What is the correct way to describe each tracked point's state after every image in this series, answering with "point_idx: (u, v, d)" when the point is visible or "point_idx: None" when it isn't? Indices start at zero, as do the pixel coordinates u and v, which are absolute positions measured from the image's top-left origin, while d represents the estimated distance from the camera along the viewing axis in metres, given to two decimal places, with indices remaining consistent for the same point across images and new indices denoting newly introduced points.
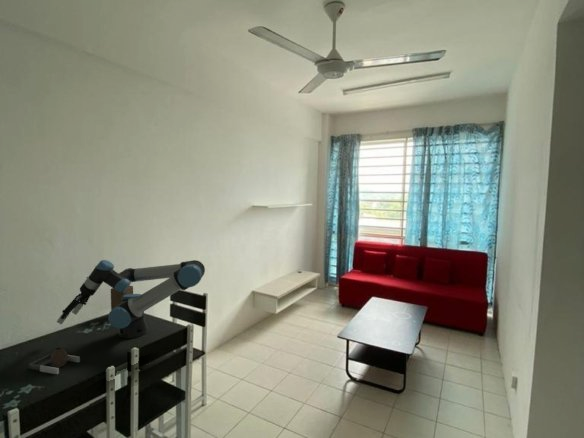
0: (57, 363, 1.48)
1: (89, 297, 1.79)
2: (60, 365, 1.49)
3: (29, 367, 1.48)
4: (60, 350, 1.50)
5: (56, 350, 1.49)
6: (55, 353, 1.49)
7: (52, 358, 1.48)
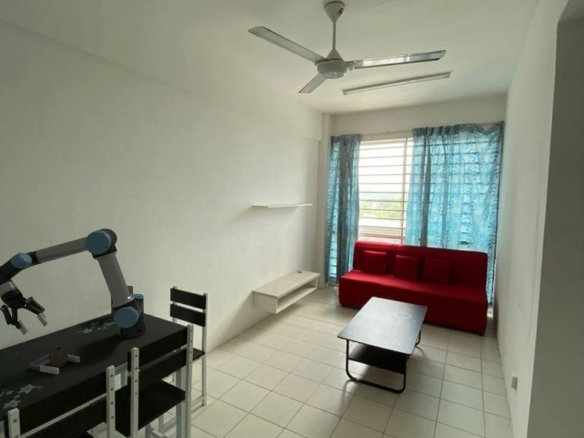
0: (57, 363, 1.48)
1: (39, 304, 1.61)
2: (60, 365, 1.49)
3: (29, 367, 1.48)
4: (60, 350, 1.50)
5: (56, 350, 1.49)
6: (55, 353, 1.49)
7: (52, 358, 1.48)
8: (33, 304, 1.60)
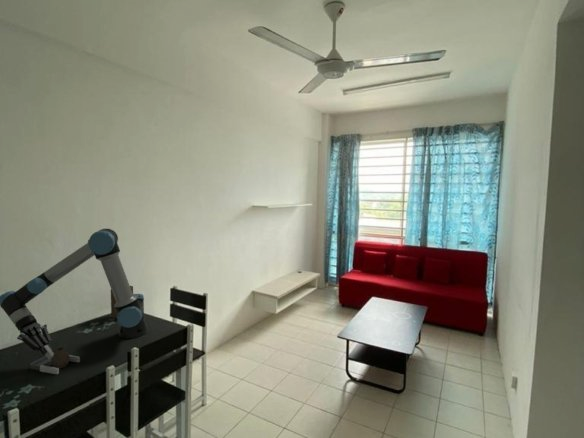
0: (59, 364, 1.47)
1: None
2: (62, 366, 1.48)
3: (29, 367, 1.48)
4: (62, 350, 1.49)
5: (58, 350, 1.49)
6: (57, 353, 1.48)
7: (54, 358, 1.47)
8: (44, 333, 1.56)
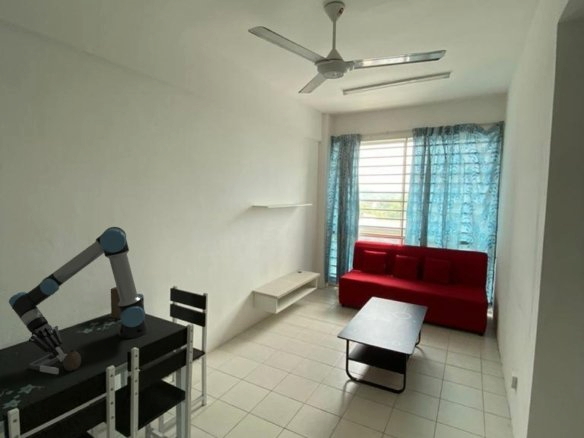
0: (71, 366, 1.46)
1: (60, 336, 1.54)
2: (73, 368, 1.47)
3: (29, 367, 1.48)
4: (73, 352, 1.48)
5: (69, 352, 1.47)
6: (68, 355, 1.46)
7: (65, 361, 1.45)
8: (55, 334, 1.54)
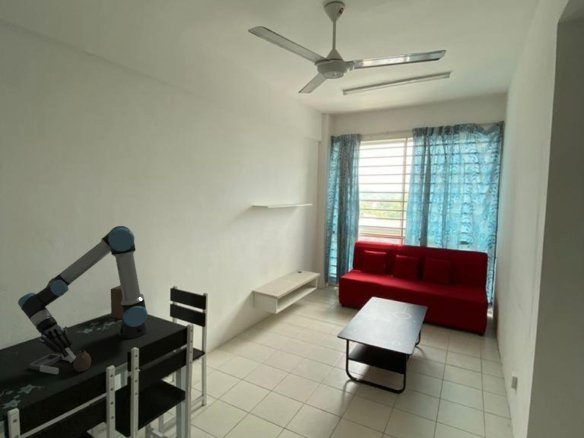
0: (81, 366, 1.45)
1: (69, 336, 1.54)
2: (84, 368, 1.46)
3: (29, 367, 1.48)
4: (84, 353, 1.47)
5: (80, 353, 1.47)
6: (79, 356, 1.46)
7: (76, 361, 1.45)
8: (64, 335, 1.54)
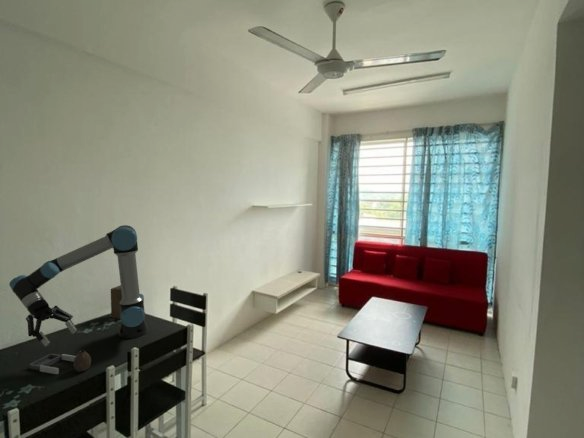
0: (81, 367, 1.45)
1: (66, 312, 1.59)
2: (84, 368, 1.46)
3: (29, 367, 1.48)
4: (84, 353, 1.47)
5: (80, 353, 1.47)
6: (79, 356, 1.46)
7: (76, 361, 1.45)
8: (60, 313, 1.57)
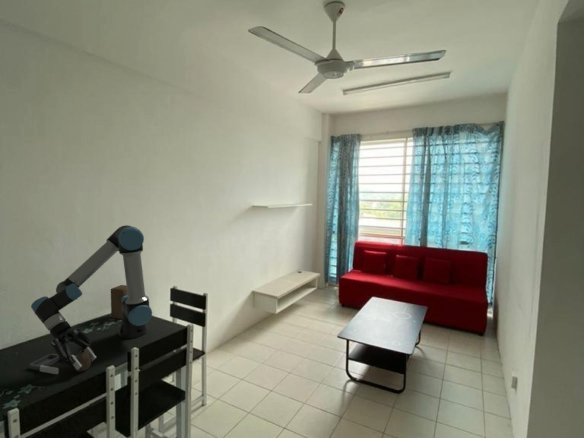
0: (81, 367, 1.45)
1: (86, 337, 1.55)
2: (84, 368, 1.46)
3: (29, 367, 1.48)
4: (84, 353, 1.47)
5: (80, 353, 1.46)
6: (79, 356, 1.46)
7: None
8: (80, 337, 1.54)
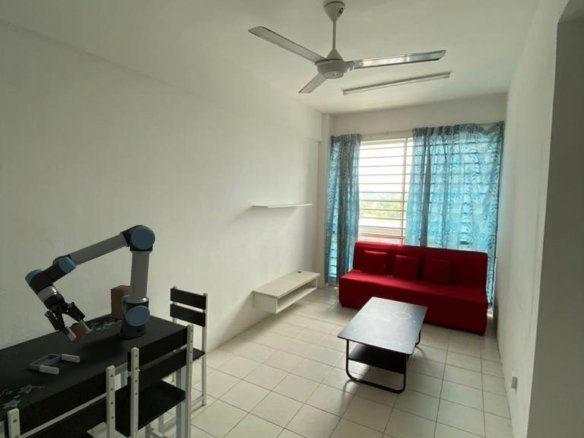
0: None
1: None
2: (77, 340, 1.46)
3: (29, 367, 1.48)
4: (77, 325, 1.47)
5: (73, 325, 1.46)
6: (72, 328, 1.46)
7: None
8: (74, 310, 1.54)
